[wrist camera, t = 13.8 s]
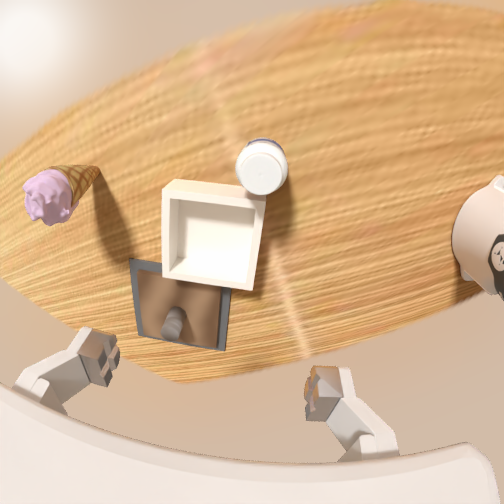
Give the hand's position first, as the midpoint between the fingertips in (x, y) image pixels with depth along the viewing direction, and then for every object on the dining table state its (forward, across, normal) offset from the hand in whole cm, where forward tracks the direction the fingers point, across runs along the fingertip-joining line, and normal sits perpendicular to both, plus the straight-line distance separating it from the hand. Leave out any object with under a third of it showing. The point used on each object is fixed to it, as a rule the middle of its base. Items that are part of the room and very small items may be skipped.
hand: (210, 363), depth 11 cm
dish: (+29, +4, +7) cm, 30 cm away
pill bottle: (+29, -1, -3) cm, 29 cm away
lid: (+29, +9, +22) cm, 37 cm away
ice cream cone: (+29, +22, +1) cm, 37 cm away
